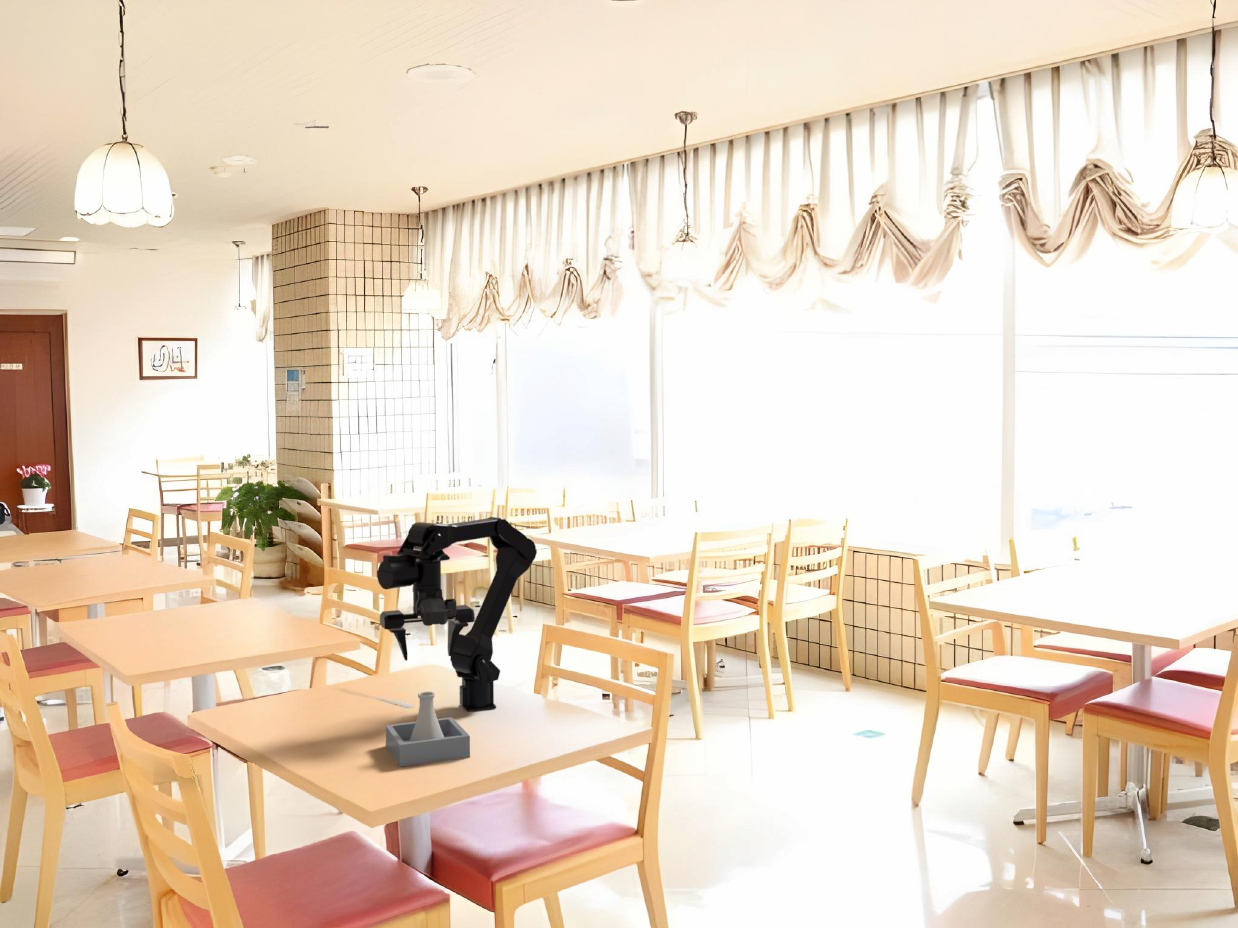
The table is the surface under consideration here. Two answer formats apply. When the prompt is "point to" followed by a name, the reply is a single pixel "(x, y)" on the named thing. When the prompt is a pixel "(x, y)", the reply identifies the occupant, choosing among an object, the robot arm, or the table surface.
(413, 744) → the tray
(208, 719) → the table surface
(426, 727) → the flask
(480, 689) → the robot arm
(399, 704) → the butter knife
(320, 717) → the table surface
